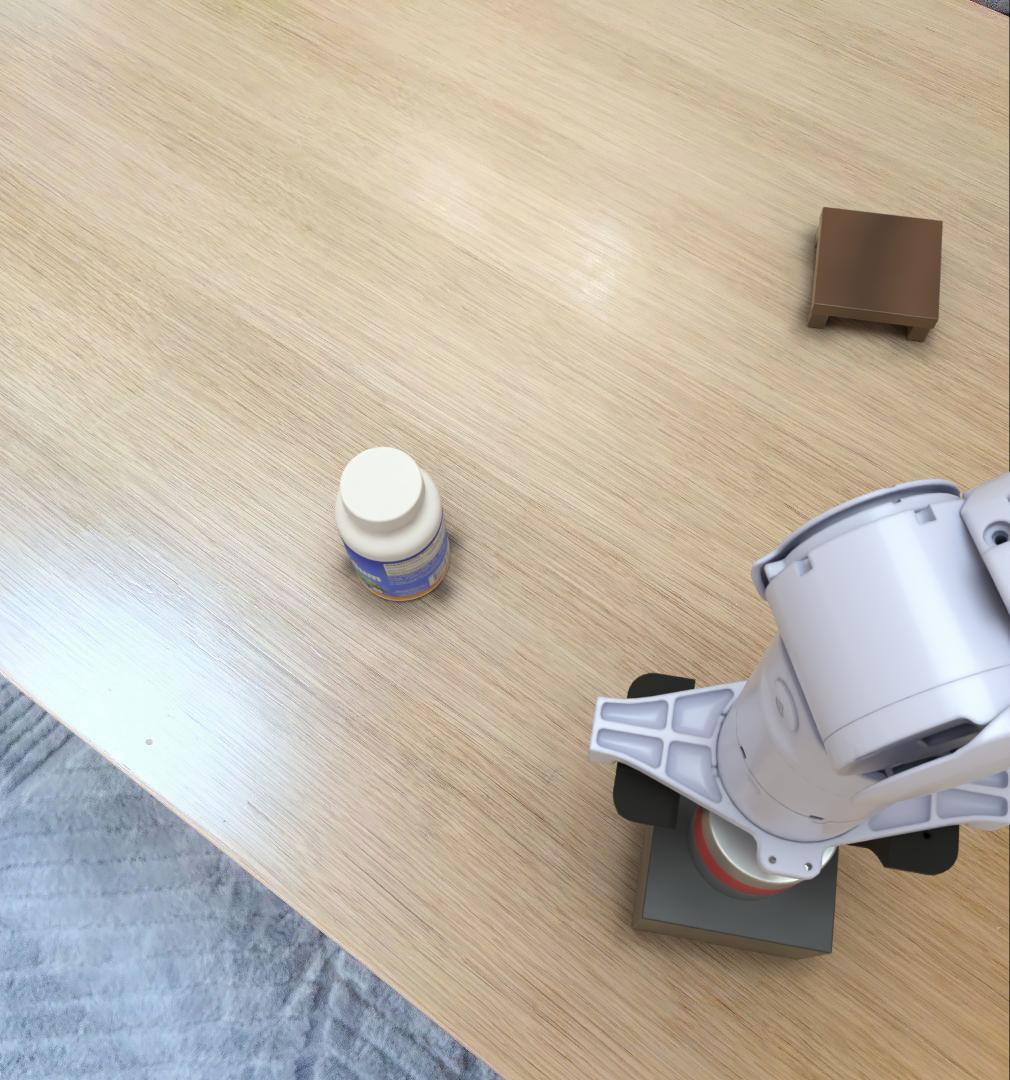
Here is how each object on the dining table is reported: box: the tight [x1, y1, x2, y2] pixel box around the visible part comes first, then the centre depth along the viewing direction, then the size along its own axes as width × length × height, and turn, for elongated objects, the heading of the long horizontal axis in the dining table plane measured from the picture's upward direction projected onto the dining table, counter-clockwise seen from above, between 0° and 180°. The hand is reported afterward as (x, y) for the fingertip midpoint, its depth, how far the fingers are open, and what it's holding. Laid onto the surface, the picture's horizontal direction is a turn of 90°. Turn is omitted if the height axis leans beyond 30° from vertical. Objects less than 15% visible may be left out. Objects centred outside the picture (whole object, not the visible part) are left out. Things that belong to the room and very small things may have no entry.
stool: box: [806, 206, 944, 343], centre depth 66 cm, size 7×7×2 cm
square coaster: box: [630, 794, 840, 961], centre depth 52 cm, size 8×8×7 cm
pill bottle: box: [333, 446, 451, 602], centre depth 58 cm, size 5×5×10 cm
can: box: [688, 804, 837, 900], centre depth 46 cm, size 5×5×7 cm
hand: (755, 801), depth 47 cm, fingers open, 7 cm apart
